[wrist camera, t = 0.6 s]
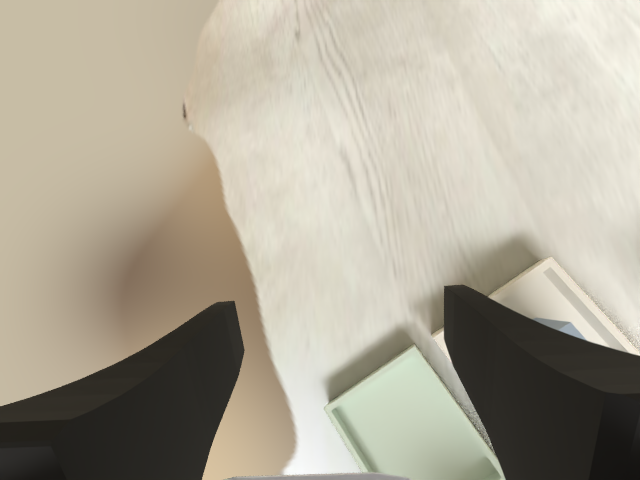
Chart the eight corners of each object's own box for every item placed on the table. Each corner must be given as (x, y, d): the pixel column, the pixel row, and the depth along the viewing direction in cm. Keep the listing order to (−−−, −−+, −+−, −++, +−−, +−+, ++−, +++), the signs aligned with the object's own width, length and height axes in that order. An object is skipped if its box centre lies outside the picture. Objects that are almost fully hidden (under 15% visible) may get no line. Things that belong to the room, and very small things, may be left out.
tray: (505, 468, 29) (511, 480, 27) (406, 530, 30) (406, 545, 28) (414, 343, 33) (414, 346, 31) (328, 402, 34) (323, 408, 32)
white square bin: (645, 377, 28) (670, 385, 25) (521, 455, 29) (531, 470, 26) (539, 260, 31) (551, 256, 29) (431, 334, 32) (432, 337, 30)
